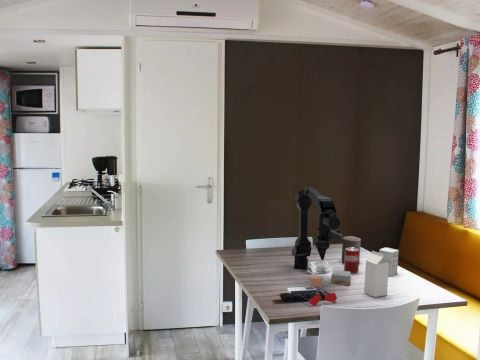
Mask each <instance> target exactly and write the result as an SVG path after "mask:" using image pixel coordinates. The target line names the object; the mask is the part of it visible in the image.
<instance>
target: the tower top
mask: <svg viewBox="0 0 480 360" xmlns="http://www.w3.org/2000/svg"><path fill="white" fill-rule="evenodd" d="M350 276H351V274H350V272H349V271H344V270H338V269H333V271H332V273H331V278H332V280H338V281H347V282H349V279H350Z"/></svg>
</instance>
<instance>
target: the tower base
mask: <svg viewBox="0 0 480 360" xmlns="http://www.w3.org/2000/svg"><path fill="white" fill-rule="evenodd" d="M351 283H352V276H351V275H350V279H349V282H347V281H338V280H332V277H331V279H330V285H335V286H336V285H337V286H347V287H350V286H351Z"/></svg>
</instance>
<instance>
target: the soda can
mask: <svg viewBox="0 0 480 360" xmlns="http://www.w3.org/2000/svg"><path fill="white" fill-rule="evenodd" d="M359 268H360V260H359V249H357V248H346V249H345V258H344V264H343V271H349V272H350V275H356V274H358V273H359Z"/></svg>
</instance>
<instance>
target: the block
mask: <svg viewBox="0 0 480 360" xmlns="http://www.w3.org/2000/svg"><path fill="white" fill-rule="evenodd" d="M322 284H323V275H315V274H311V276H310V281H309V287H315V288H321V287H322Z"/></svg>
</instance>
